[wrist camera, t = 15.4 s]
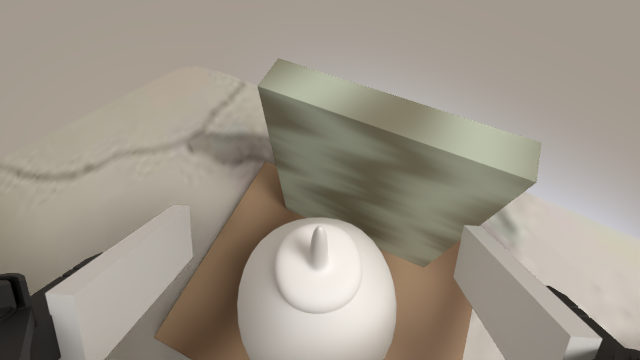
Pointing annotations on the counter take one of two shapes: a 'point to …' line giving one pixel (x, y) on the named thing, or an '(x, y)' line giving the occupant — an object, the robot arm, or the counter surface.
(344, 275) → the sauce bottle
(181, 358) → the counter surface
